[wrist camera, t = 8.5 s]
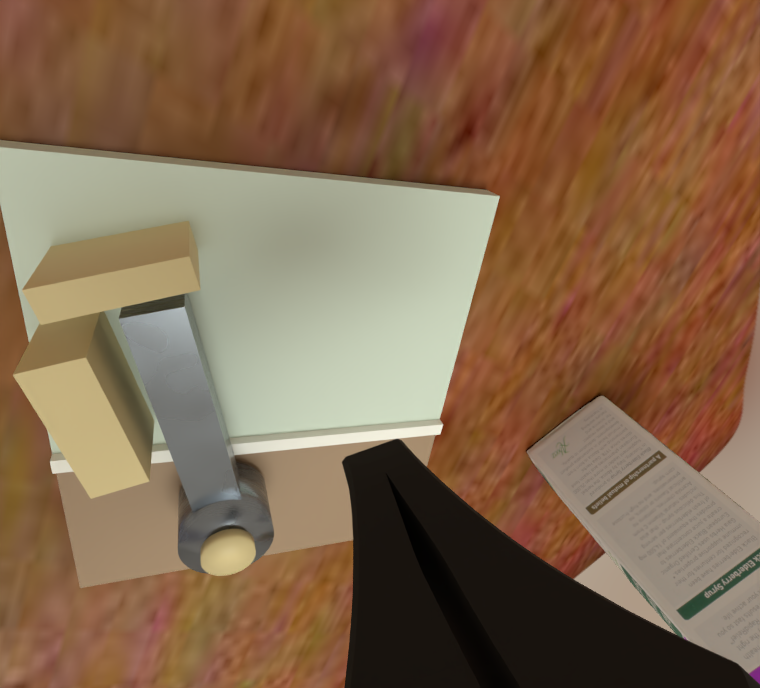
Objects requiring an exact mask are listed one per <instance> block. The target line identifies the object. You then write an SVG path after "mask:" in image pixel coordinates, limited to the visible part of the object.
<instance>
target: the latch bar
mask: <svg viewBox="0 0 760 688" xmlns="http://www.w3.org/2000/svg"><path fill="white" fill-rule="evenodd" d="M119 321H120V324H121V326H122V329H123V332H124V334H125V337H126V339H127V342H128V345H129V347H130V350H131V352H132V355H133V358H134V360H135V363H136V365H137V368H138V371H139V373H140V376H141V378H142V381H143V384H144V386H145V389H146V391H147V394H148V397H149V399H150V402H151V404H152V407H153V410H154V412H155V415H156V417H157V420H158V423H159V425H160V428H161V431H162V433H163V436H164V438H165V441H166V444H167V446H168V449H169V451H170V454H171V457H172V459H173V462H174V464H175V467H176V470H177V472H178V475H179V477H180V480H181V483H182V487H181V489H180V491H179V497H178V555H179V558H180V559H181V561H182V562H183V563H184V564H185V565H186V566H187V567H189V568H190V569H192V570H195V571H198V572H202V573H207V572H206V571H204V570H203V568H202V566H201V555H200V550H201V546H202V544H203V543H204V541H205V540H206V539H207V538H208V537H210V536H211V535H213V534H215V533H217V532H219V531H222V530H226V529H242V530H245V531H247V532H249V533H250V534H251V535H252V536H253V538H254V542H255V550H256V555H255V558H254V560H253V561H252V563H253V562H255V561H256V560H258V559H259V558H260V557H262V556H263V555H264V554H265V553H266V551H267V550H268V549H269V547H270V546H271V544H272V542H273V538H274V528H273V523H272V517H271V512H270V507H269V501H268V496H267V490H266V485H265V480H264V478H263V476H262V474H261V473H260V472H259V471H258V470H257V469H255V468H254V467H252V466H250V465H247V464H244V463H240V462H236V459H235V456H234V452H233V449H232V445H231V442H230V438H229V435H228V431H227V428H226V424H225V421H224V418H223V414H222V411H221V407H220V404H219V400H218V397H217V393H216V390H215V386H214V383H213V379H212V376H211V372H210V369H209V365H208V362H207V358H206V355H205V351H204V348H203V344H202V341H201V337H200V334H199V330H198V327H197V324H196V320H195V317H194V313H193V310H192V306H191V303H190V299H189V296H188V293H185V294H180V295H176V296H171V297H167V298H162V299H157V300H153V301H148V302H144V303H139V304H134V305H130V306H125V307H121V311H120V315H119ZM252 563H251V564H252Z"/></svg>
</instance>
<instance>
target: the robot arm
mask: <svg viewBox="0 0 760 688" xmlns="http://www.w3.org/2000/svg"><path fill="white" fill-rule="evenodd" d="M342 465H343V469H344V472H345V476H346V480H347V484H348V487H349V493H350V501H351V510H352V527H353V599H352V617H351V630H350V642H349V652H348V661H347V671H346V680H345V688H760V684H759V683H758V682H757V681H756V680H755V679H754V678H753V677H752V676H751V675H749V674H748V673H747V672H746V671H745V670H744V669H743V668H742V667H741V666H740V665H739V664H738V663H736V662H734V661H732V660H729V659H727V658H725V657H723V656H720V655H718V654H716V653H714V652H712V651H709V650H707V649H705V648H703V647H701V646H698V645H696V644H694V643H692V642H690V641H688V640H686V639H684V638H682V637H680V636H678V635H675V634H673V633H671V632H669V631H667V630H665V629H663V628H661V627H659V626H657V625H655V624H653V623H651V622H649V621H647V620H646V619H643V618H641V617H640V616H638V615H635V614H634V613H632V612H630V611H628V610H626V609H624V608H623V607H621V606H619V605H617V604H615V603H614V602H612V601H610V600H608V599H607V598H605V597H603V596H601V595H600V594H598V593H596V592H594V591H593V590H591V589H589V588H587V587H586V586H584V585H582V584H580V583H579V582H577V581H575V580H573V579H572V578H570V577H569V576H567V575H565V574H564V573H562V572H561V571H559V570H557V569H556V568H554V567H553V566H551V565H550V564H548V563H546V562H545V561H543V560H542V559H540V558H539V557H537V556H536V555H534V554H533V553H531V552H530V551H529V550H527V549H526V548H524V547H523V546H521V545H520V544H518V543H517V542H516V541H514V540H513V539H511V538H510V537H509V536H507V535H506V534H505V533H503V532H502V531H501V530H499V529H498V528H497V527H496V526H494V525H493V524H492V523H490V522H489V521H488V520H486V519H485V518H484V517H483V516H481V515H480V514H479V513H478V512H476V511H475V510H474V509H473V508H472V507H470V506H469V505H468V504H467V503H466V502H465V501H463V500H462V499H461V498H460V497H459V496H458V495H456V494H455V493H454V492H453V491H452V490H451V489H450V488H448V487H447V486H446V485H445V484H444V483H443V482H442V481H441V480H440V479H439V478H438V477H437V476H435V475H434V474H433V473H432V472H431V471H430V470H429V469H428V468H427V467H426V466H425V465H424V464H423V463H422V462H421V461H420V460H419V459H418V458H417V457H416V456H415V455H414V453H413V452H412V451H411V450H410V449H409V448H408V447H407V446H406V445H405V443H404V442H403V441H402V440H400V439H394V440H391V441H389V442H386V443H383V444H380V445H377V446H374V447H372V448H369V449H366V450H363V451H360V452H357V453H355V454H352V455H349V456H346V457H345V458H344V460H343V461H342Z"/></svg>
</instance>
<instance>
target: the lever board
mask: <svg viewBox="0 0 760 688" xmlns="http://www.w3.org/2000/svg"><path fill="white" fill-rule="evenodd" d="M499 198H500V196H498V195H496V194H494V193H492V192H490V191H488V190H483V189H473V188H463V187H453V186H444V185H434V184H424V183H414V182H405V181H395V180H385V179H376V178H366V177H356V176H346V175H337V174H327V173H317V172H307V171H298V170H288V169H278V168H268V167H259V166H249V165H239V164H230V163H220V162H210V161H200V160H191V159H181V158H171V157H161V156H152V155H142V154H132V153H122V152H113V151H103V150H93V149H83V148H74V147H64V146H54V145H45V144H35V143H25V142H15V141H6V140H0V205H1V210H2V215H3V220H4V225H5V229H6V234H7V239H8V244H9V249H10V253H11V258H12V263H13V268H14V273H15V277H16V282H17V287H18V292H19V297H20V301H21V306H22V311H23V316H24V321H25V325H26V330H27V335H28V340H29V344H28V346H27V348H26V350H25V352H24V354H23V356H22V358H21V360H20V362H19V364H18V366H17V367H16V369H15V371H14V373H13V376H14V377H15V379H16V381H17V382H18V384H19V385H20V387H21V389H22V390H23V392H24V393H25V395H26V397H27V398H28V400H29V401H30V403H31V405H32V406H33V408H34V409H35V411H36V412H37V414H38V416H39V417H40V419H41V420H42V422H43V424H44V425H45V427H46V428H47V431H48V436H49V441H50V445H51V450H52V456H51V459H50V464H51V469H52V474H55V473H56V474H57V479H58V484H59V489H60V493H61V498H62V503H63V508H64V513H65V517H66V522H67V527H68V532H69V537H70V541H71V546H72V551H73V556H74V561H75V565H76V570H77V575H78V580H79V585H80V588H83V587H89V586H94V585H100V584H106V583H111V582H117V581H123V580H128V579H134V578H140V577H145V576H151V575H157V574H162V573H168V572H174V571H180V570H185V569H190V568H189V567H187V566H186V565H185V564H184V563H183V562H182V561H181V559H180V558H179V555H178V497H179V491H180V489H181V487H182V483H181V480H180V477H179V475H178V472H177V470H176V467H175V464H174V462H173V459H172V457H171V454H170V451H169V449H168V446H167V444H166V441H165V438H164V436H163V433H162V431H161V428H160V425H159V423H158V420H157V417H156V415H155V412H154V410H153V407H152V404H151V402H150V399H149V397H148V394H147V391H146V389H145V386H144V384H143V381H142V378H141V376H140V373H139V371H138V368H137V365H136V363H135V360H134V358H133V355H132V352H131V350H130V347H129V345H128V342H127V339H126V337H125V334H124V332H123V329H122V326H121V324H120V321H119V315H120V311H121V307H125V306H130V305H134V304H139V303H144V302H148V301H153V300H157V299H162V298H167V297H171V296H176V295H180V294H185V293H188V296H189V299H190V303H191V306H192V310H193V313H194V317H195V320H196V324H197V327H198V330H199V334H200V337H201V341H202V344H203V348H204V351H205V355H206V358H207V362H208V365H209V369H210V372H211V376H212V379H213V383H214V386H215V390H216V393H217V397H218V400H219V404H220V407H221V411H222V414H223V418H224V421H225V424H226V428H227V431H228V435H229V438H230V442H231V445H232V449H233V452H234V456H235V459H236V462H240V463H244V464H247V465H250V466H252V467H254V468H255V469H257V470H258V471H259V472H260V473H261V474H262V476H263V478H264V480H265V485H266V490H267V496H268V501H269V507H270V512H271V517H272V523H273V528H274V538H273V542H272V544H271V546H270V547H269V549H268V550H267V551H266V553H265V554H264V555H263V556H265V555H270V554H276V553H282V552H287V551H293V550H299V549H305V548H310V547H316V546H322V545H327V544H333V543H339V542H344V541H350V540H353V527H352V510H351V501H350V493H349V487H348V484H347V480H346V476H345V472H344V469H343V465H342V461H343V460H344V458H345V457H346V456H349V455H352V454H355V453H357V452H360V451H363V450H366V449H369V448H372V447H374V446H377V445H380V444H383V443H386V442H389V441H391V440H394V439H400V440H402V441H403V442H404V443H405V445H406V446H407V447H408V448H409V449H410V450H411V451H412V452H413V453H414V455H415V456H416V457H417V458H418V459H419V460H420V461H421V462H422V463H423V464H424V465H425V466H426V467H427V464H428V460H429V456H430V453H431V449H432V445H433V442H434V438H435V435H438V434H441V430H442V426H443V424H442V422H441V421H440V416H441V412H442V408H443V405H444V401H445V397H446V394H447V390H448V386H449V382H450V379H451V375H452V371H453V368H454V364H455V360H456V357H457V353H458V349H459V345H460V342H461V338H462V334H463V331H464V327H465V323H466V320H467V316H468V312H469V308H470V305H471V301H472V297H473V294H474V290H475V286H476V283H477V279H478V275H479V271H480V268H481V264H482V260H483V257H484V253H485V249H486V246H487V242H488V238H489V235H490V231H491V227H492V223H493V220H494V216H495V212H496V209H497V205H498V201H499ZM200 555H201V566H202V568H203V570H204V571H206V572H207V573H209V574H212V575H218V576H223V575H230V574H234V573H237V572H239V571H241V570H243V569H245V568H246V567H248V566H249V565H250V564H251V563H252V561H253V560H254V558H255V555H256V550H255V542H254V538H253V536H252V535H251V534H250V533H249V532H247V531H245V530H242V529H226V530H222V531H219V532H217V533H215V534H213V535H211V536H210V537H208V538H207V539H206V540H205V541H204V543H203V544H202V546H201V550H200Z"/></svg>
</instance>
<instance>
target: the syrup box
mask: <svg viewBox="0 0 760 688" xmlns="http://www.w3.org/2000/svg"><path fill="white" fill-rule="evenodd" d="M527 454H528V455H529V457H530V458H531V460H532V462H533V463H534V465H535V466H536V467H537V469H538V470H539V472H540V473H541V474H542V476H543V477H544V478H545V480H546V481H547V482H548V483H549V485H550V486H551V487H552V488H553V490H554V491H555V492H556V493H557V495H558V496H559V497H560V498H561V499H562V501H563V502H564V503H565V504H566V505H567V507H568V508H569V509H570V510H571V511H572V513H573V514H574V515H575V516H576V517H577V518H578V520H579V521H580V522H581V523H582V524H583V525H584V527H585V528H586V529H587V530H588V531H589V533H590V534H591V535H592V536H593V538H594V539H595V540H596V541H597V542H598V544H599V545H600V546H601V547H602V548H603V550H604V551H605V552H606V553H607V554H608V555H609V557H610V558H611V559H612V560H613V561H614V563H615V564H616V565H617V566H618V567H619V569H620V570H621V571H622V572H623V573H624V575H625V576H626V577H627V578H628V579H629V581H630V582H631V583H632V584H633V585H634V587H635V588H636V589H637V590H638V591H639V592H640V594H641V595H642V596H643V597H644V598H645V599H646V600H647V601H648V603H649V604H650V605H651V606H652V607H653V608H654V609H655V611H656V612H657V613H658V614H659V615H660V616H661V618H662V619H663V620H664V621H665V622H666V623H667V624H668V625H669V626H670V628H671V629H672V630H673V631H674V632H675V633H676V634H677V635H678V636H680V637H682V638H684V639H686V640H688V641H690V642H692V643H694V644H696V645H698V646H701V647H703V648H705V649H707V650H709V651H712V652H714V653H716V654H718V655H720V656H723V657H725V658H727V659H729V660H732V661H734V662H736V663H738V664H739V665H740V666H741V667H742V668H743V669H744V670H745V671H746V672H747V673H748V674H749V675H751V676H752V677H753V678H754V679H755V680H756V681H757V682H758V683H759V684H760V522H759V521H758V520H756V519H755V518H754V517H753V516H752V515H750V514H749V513H748V512H746V511H745V510H744V509H743V508H742V507H741V506H739V505H738V504H737V503H736V502H734V501H733V500H731V498H729V497H728V496H727V495H726V494H725V493H723V492H722V491H721V490H720V489H718V488H717V487H716V486H714V485H713V484H712V483H711V482H710V481H709V480H708V479H706V478H705V477H703V476H702V475H701V474H700V473H699V472H698V471H696V470H695V469H694V468H692V467H691V466H690V465H689V464H688V463H686V462H685V461H684V460H683V459H681V458H680V457H679V456H678V455H676V454H675V453H674V452H673V451H671V450H670V449H669V448H668V447H667V446H665V445H664V444H663V443H662V442H660V441H659V440H658V439H657V438H655V437H654V436H653V435H652V434H651V433H649V432H648V431H647V430H646V429H645V428H643V427H642V426H641V425H640V424H638V423H637V422H636V421H635V420H633V419H632V418H631V417H630V416H628V415H627V414H626V413H625V412H624V411H622V410H621V409H620V408H619V407H617V406H616V405H615V404H614V403H612V402H611V401H610V400H609V399H607V398H606V397H604V396H599V397H597V398H596V399H594V400H593V401H591V402H590V403H588V404H587V405H585V406H584V407H583V408H581V409H580V410H578V411H577V412H576V413H574V414H573V415H572V416H570V417H569V418H568V419H566V420H565V421H564V422H562V423H561V424H560V425H559V426H558V427H556V428H555V429H554V430H552V431H551V432H550V433H549V434H547V435H546V436H545V437H544V438H542V439H541V440H540V441H538V442H537V443H536V444H535V445H534V446H533V447H531V448H530V449H528V450H527Z"/></svg>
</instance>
